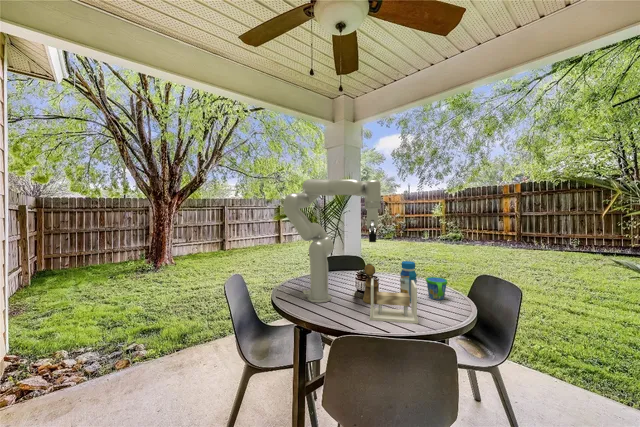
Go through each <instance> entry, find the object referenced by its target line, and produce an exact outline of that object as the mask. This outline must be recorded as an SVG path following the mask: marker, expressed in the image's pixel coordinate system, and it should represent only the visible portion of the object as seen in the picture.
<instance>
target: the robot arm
mask: <svg viewBox="0 0 640 427" xmlns="http://www.w3.org/2000/svg"><path fill="white" fill-rule="evenodd" d="M381 186H382V185H381V181H380V180H377V179H375V180H374V179H373V180H372V179H371V180H366V181H361V180H358V179H343V178H342V179H340V178H339V179H333V178H330V179H329V178H326V179H325V178H309V179H306V180H304V181H303V184H302V190H303V192H301V193H299V192H293V193H289V194H287V195H286V196H285V198H284V201H283V204H282V208H283V212H284V214H285V216H286V218H287V219H288V220H289V221H290V223H291V224H292V227H294V228H295V230H296V231H297V233H298V235H299V236H300V238H301V239H302V240H303V241H305V242H310V241H312V242H311V243H310V244H309V247H308V255H309V262H310V263H309V266H310V267H309V268H310V277H309V278H310V279H309V280H310V284H309V285H310V286H309V288H310V289H309V290H306V289H305V290H304V289H303V291H302V294H303V295H305V296H307V301H309V302H311V303H316V304H319V303H321V304H322V303H327V302H330V301H331V300H332V296H331V295H330V294H329V262H328V257H327V256H329V255H330V254H332V253H333V251H334V249H335V245H334V242H333V240H332V239H331V238H330V236H329V235H328V233H327V232H326V230H325V228H323V227H322V225H320V224H319V223H318V222H311V221H310V220H309V218H308V217H307V216H306V215H305V213H304V212H303V211H302V210H301V209H306V208H308V207H309V206H310V205H311V204H313V203H314V202H315V201H316V200H317V199H318V198H319V197H320V196H326V197H329V196H330V197H331V196H340V195H341V196H355V197H356V196H357V197H362V196H364V209H366V229H367V230H369V233H368V242H369V243H376V242H377V231H376V230H377V229H378V224H379V210H380V209H381V205H382V204H381V200H382V198H381V188H382V187H381Z"/></svg>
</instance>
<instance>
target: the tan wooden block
mask: <svg viewBox="0 0 640 427" xmlns="http://www.w3.org/2000/svg"><path fill="white" fill-rule="evenodd" d="M379 304H382V305H387V306H403V307H404V306H408V307H411V302H410V296H409V293H400V292H388V291H379V292H377V304H376V305H379Z"/></svg>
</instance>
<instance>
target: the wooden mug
mask: <svg viewBox="0 0 640 427" xmlns="http://www.w3.org/2000/svg"><path fill="white" fill-rule="evenodd" d="M363 272H364V274H365V275H366V276H367V278H366V279H365V282H364V294H363V298H362V300H363V303H365V304H369V305H371V278H373V277H374V275H375V273H376V268H375V266H374V265H373V264H371V263H370V262H369V263H367V264H366V265H365V266H364V269H363ZM377 292H380V291H379V282H378V279H375V278H374V305H378V304H377Z"/></svg>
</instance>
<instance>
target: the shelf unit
mask: <svg viewBox="0 0 640 427" xmlns="http://www.w3.org/2000/svg"><path fill="white" fill-rule="evenodd" d="M374 279H375V278H371V304H370V309H369V321H376V322H388V323H389V322H390V323H401V324H402V323H403V324H404V323H405V324H415V325H416V324H419V319H418V287H417V283H416V284H415V282H414V280H411V302H410V307H411V308H410V309H409V308H408V307H409V306H403V309H398V308H397V309H395V308H383V304H378V308H377V307H374V306H375V304H374Z"/></svg>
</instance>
